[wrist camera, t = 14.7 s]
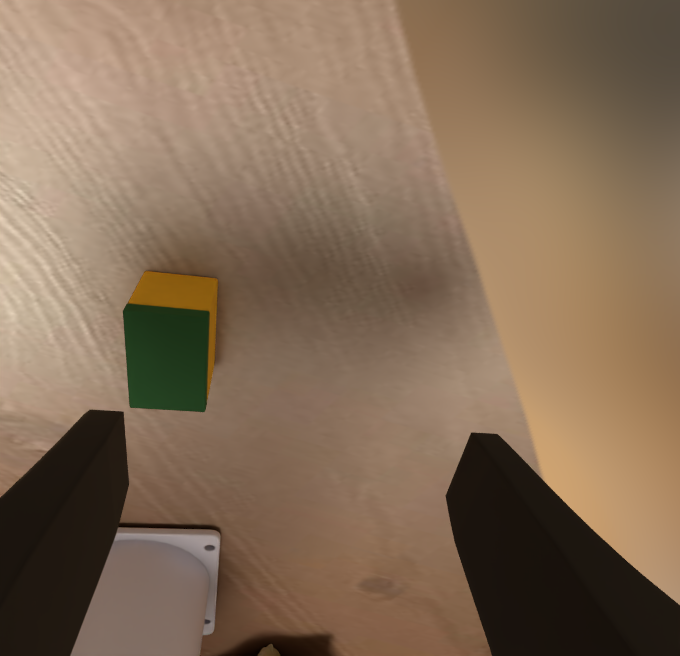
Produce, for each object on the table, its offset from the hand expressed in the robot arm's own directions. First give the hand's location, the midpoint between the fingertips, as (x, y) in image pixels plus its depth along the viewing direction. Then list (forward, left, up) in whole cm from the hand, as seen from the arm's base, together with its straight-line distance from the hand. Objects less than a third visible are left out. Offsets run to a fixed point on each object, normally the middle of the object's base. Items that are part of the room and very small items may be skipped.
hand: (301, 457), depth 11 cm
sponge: (-3, +4, -9) cm, 11 cm away
